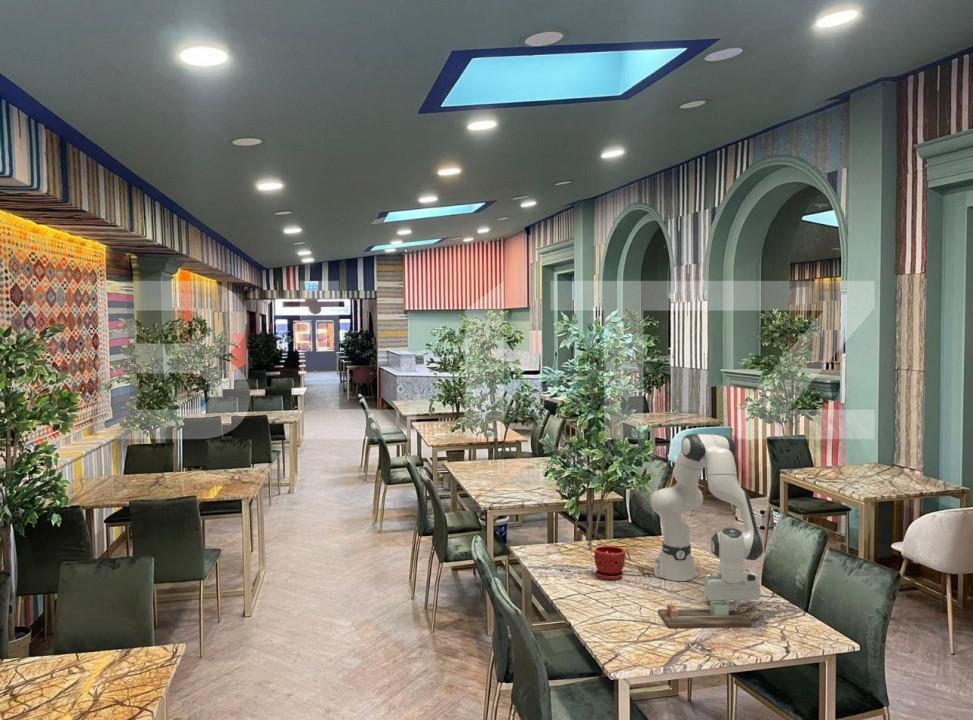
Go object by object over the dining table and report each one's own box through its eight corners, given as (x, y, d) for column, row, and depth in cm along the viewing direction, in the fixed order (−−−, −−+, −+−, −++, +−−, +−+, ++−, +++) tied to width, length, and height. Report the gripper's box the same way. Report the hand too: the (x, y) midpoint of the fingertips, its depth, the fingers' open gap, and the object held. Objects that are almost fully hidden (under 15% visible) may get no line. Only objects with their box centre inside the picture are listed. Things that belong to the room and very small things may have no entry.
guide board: (658, 613, 268) (658, 600, 268) (737, 612, 269) (737, 598, 269) (668, 628, 255) (668, 614, 254) (751, 627, 255) (751, 613, 255)
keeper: (710, 613, 264) (710, 601, 264) (723, 612, 265) (723, 600, 264) (714, 618, 259) (714, 606, 259) (728, 618, 260) (728, 606, 259)
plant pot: (627, 581, 304) (627, 553, 303) (596, 581, 304) (596, 553, 303) (622, 571, 317) (622, 544, 316) (592, 571, 317) (592, 544, 317)
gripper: (706, 577, 258) (706, 615, 259) (762, 576, 259) (762, 614, 259) (701, 571, 264) (700, 608, 265) (755, 570, 265) (755, 607, 266)
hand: (731, 611), depth 262 cm, fingers closed
